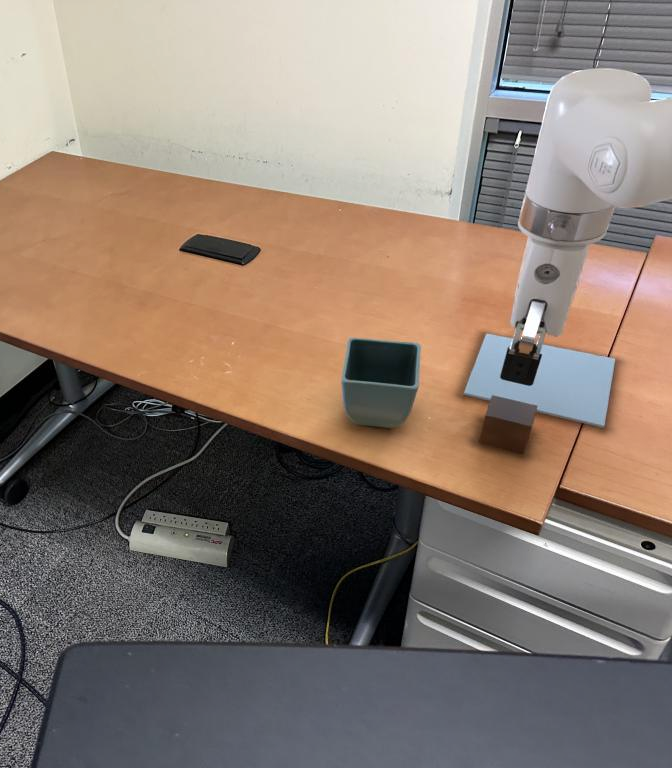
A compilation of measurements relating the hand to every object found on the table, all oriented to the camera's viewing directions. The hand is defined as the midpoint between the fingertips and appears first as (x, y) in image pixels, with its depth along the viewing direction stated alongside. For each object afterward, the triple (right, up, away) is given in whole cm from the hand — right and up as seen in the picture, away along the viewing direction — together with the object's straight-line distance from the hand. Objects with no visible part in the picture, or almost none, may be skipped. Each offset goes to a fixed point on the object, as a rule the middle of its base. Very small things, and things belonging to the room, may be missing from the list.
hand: (524, 354), depth 76 cm
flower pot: (-12, -7, +13) cm, 20 cm away
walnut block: (+2, -10, +8) cm, 13 cm away
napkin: (+10, -2, +15) cm, 18 cm away
